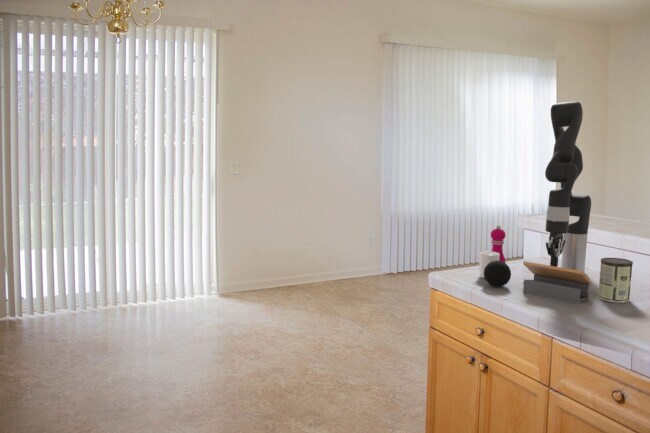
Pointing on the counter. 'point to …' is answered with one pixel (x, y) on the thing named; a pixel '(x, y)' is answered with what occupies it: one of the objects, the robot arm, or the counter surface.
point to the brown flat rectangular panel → (557, 272)
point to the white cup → (487, 260)
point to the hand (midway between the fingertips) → (553, 266)
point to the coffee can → (615, 280)
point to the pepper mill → (498, 241)
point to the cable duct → (555, 288)
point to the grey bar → (582, 293)
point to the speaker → (497, 273)
